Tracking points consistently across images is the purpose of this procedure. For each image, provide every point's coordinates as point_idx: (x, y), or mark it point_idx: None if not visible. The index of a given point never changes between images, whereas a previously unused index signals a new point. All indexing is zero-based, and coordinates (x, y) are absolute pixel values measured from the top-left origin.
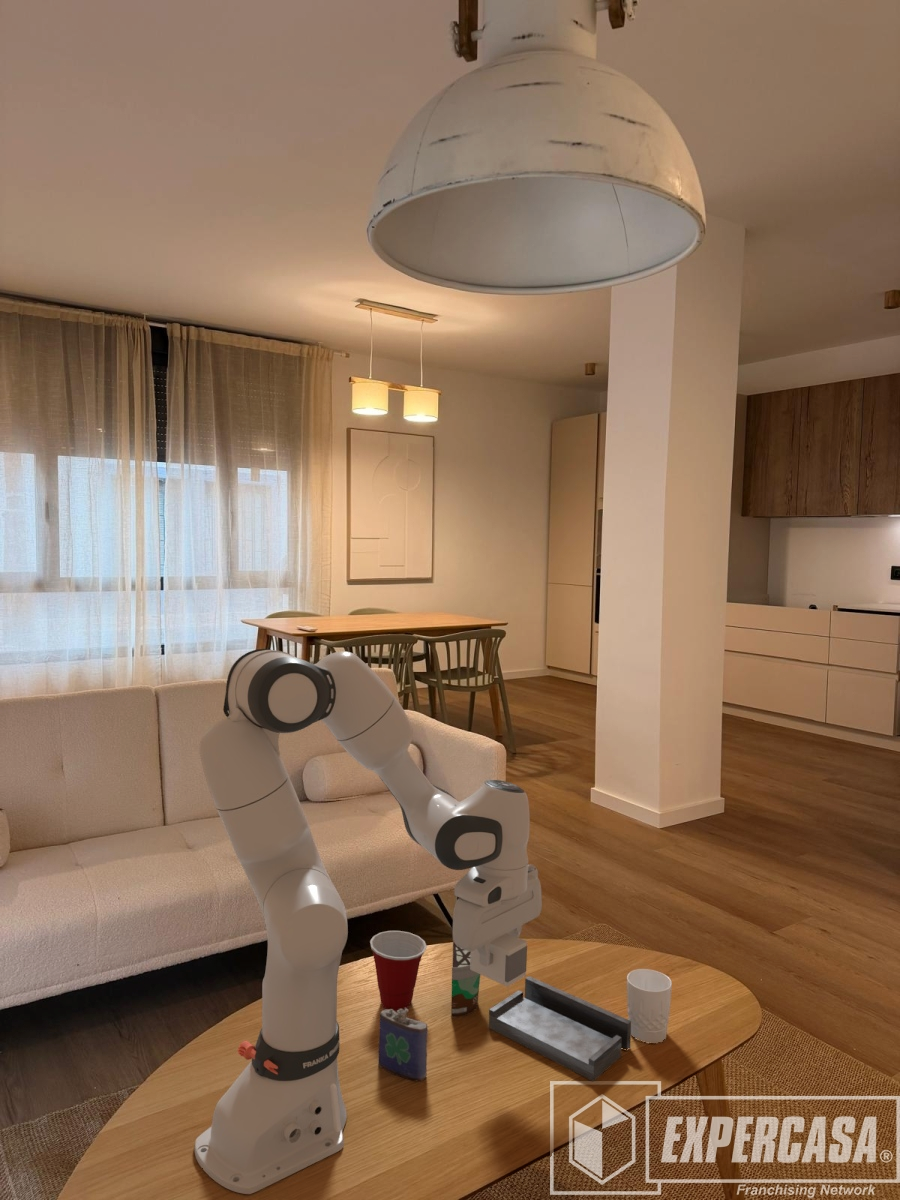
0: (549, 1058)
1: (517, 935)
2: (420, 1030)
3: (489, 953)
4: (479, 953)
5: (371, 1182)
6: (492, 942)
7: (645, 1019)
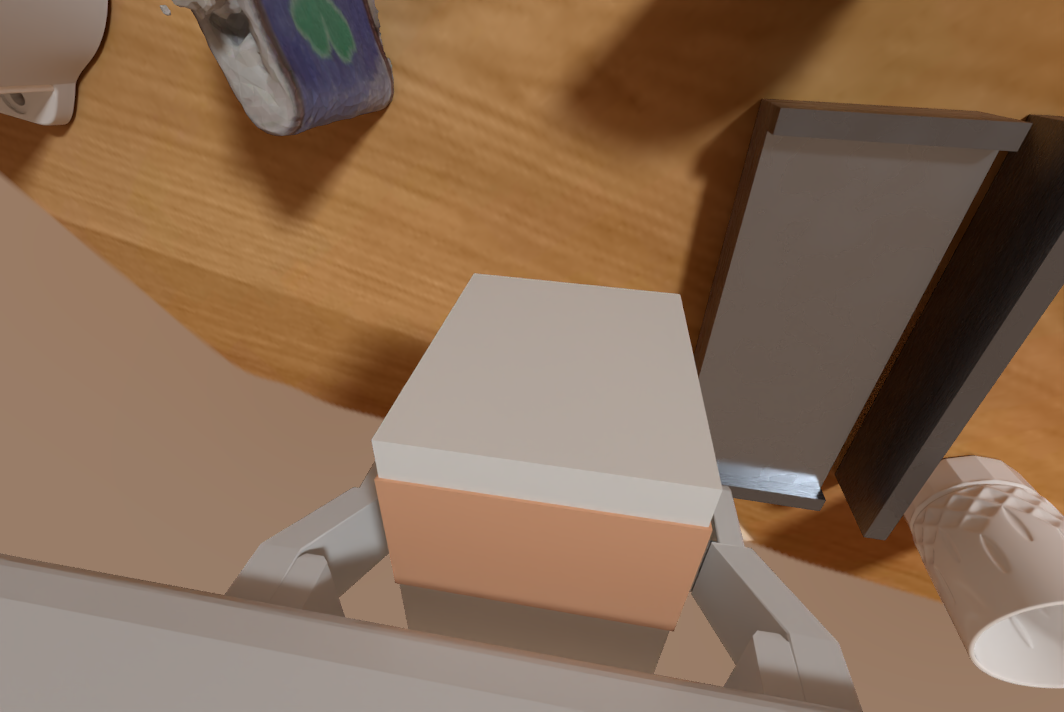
0: (696, 347)
1: (730, 648)
2: (256, 124)
3: (372, 563)
4: (352, 489)
5: (107, 244)
6: (427, 601)
7: (925, 554)
